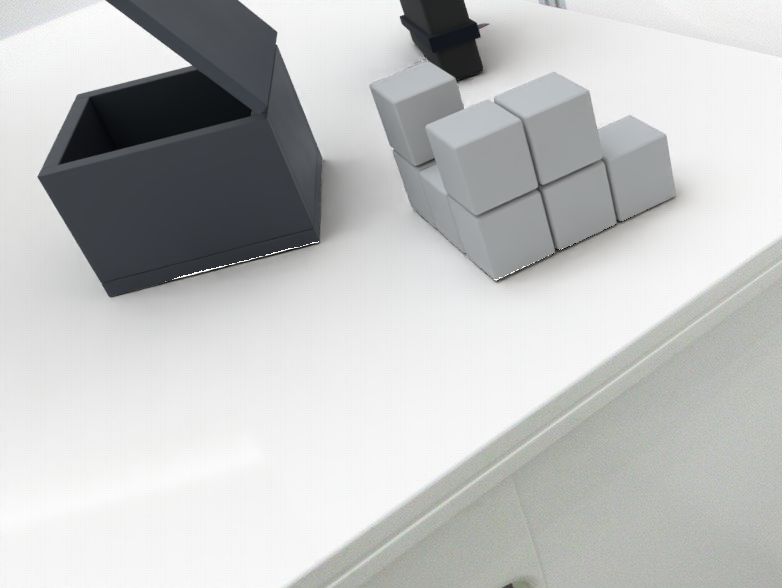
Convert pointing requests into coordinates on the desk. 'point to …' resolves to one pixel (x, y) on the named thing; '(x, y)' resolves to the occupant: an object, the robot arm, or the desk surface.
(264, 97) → the compartment lid
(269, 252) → the compartment
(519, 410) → the desk surface
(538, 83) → the puzzle cube
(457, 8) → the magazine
